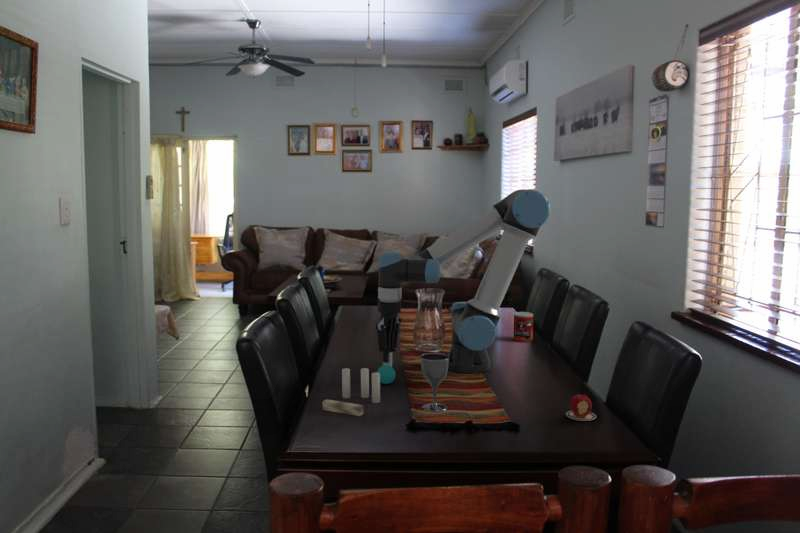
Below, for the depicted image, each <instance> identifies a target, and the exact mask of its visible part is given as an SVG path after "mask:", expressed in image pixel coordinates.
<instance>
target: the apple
mask: <svg viewBox="0 0 800 533" xmlns="http://www.w3.org/2000/svg"><path fill="white" fill-rule="evenodd" d="M569 404H570V405H569V407H570V410H568V411H567V412H566V413H565V415H566V417H568V418H569V419H571V420H573V421H574V420H575V421H580V422H582V421H583V422H588V421H589V422H590V421H593V420H595V419H596V418H597V415H596V413H593V412H591V411H592V408H593V404H592V401H591V399H590V398H589V397H588V396H587V394H586V393H585V394H576V395H574V396H572V397H571V399H570V403H569Z"/></svg>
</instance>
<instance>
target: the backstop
mask: <svg viewBox="0 0 800 533" xmlns="http://www.w3.org/2000/svg"><path fill="white" fill-rule="evenodd" d="M322 410H323V411H326V412H327V411H328V412H333V413H339V414H344V415H346V414H347V415H350V416H356V417H360V416H362V415H364V405H363V404H358V403H352V402H346V401H340V400H335V399H334V400H333V399H324V400H323V401H322Z"/></svg>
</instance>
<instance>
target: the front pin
mask: <svg viewBox="0 0 800 533" xmlns="http://www.w3.org/2000/svg"><path fill="white" fill-rule="evenodd" d="M369 369H370V368H368V367H367V368H366V367H363V368H360V397H361V398H362V399H368V398H369V397H370V370H369Z"/></svg>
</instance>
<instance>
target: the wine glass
mask: <svg viewBox="0 0 800 533" xmlns="http://www.w3.org/2000/svg"><path fill="white" fill-rule="evenodd" d="M448 355H449V354H446V353H442V352H427V353H426V352H425V353H423V354H421V355H420V369H421V374H422V376H423V378H424V379H425V380H426V381H427V383H428V384H429V385H430V387H431V388H432V389H431V390H432V398H433V399H432V400H433V401H432V402H431V403H426V405H425V404H423V405H422V407H421V409H422V408H423V409H424V411H425V410H426V412H430V413H431V412H432V413H438V412H439V413H440V412H444V411H446V410H447V409H448V406H447V405H445V404H442V403H437V392H438V387H439V385H440V384H441V383H442V382H443V381H444V379H445V378H446V377H447V375H448V371H449V369H448V366H449V356H448ZM423 409H422V410H423Z"/></svg>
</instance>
